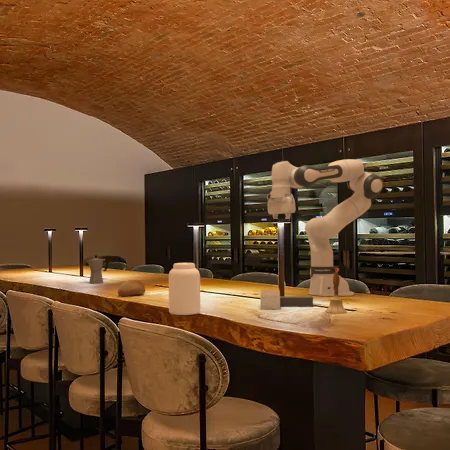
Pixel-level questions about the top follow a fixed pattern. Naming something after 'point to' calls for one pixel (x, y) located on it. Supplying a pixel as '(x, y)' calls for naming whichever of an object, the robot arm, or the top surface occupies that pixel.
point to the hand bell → (336, 298)
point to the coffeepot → (96, 269)
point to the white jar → (184, 289)
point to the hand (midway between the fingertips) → (281, 223)
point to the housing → (270, 300)
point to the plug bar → (296, 301)
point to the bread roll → (131, 288)
